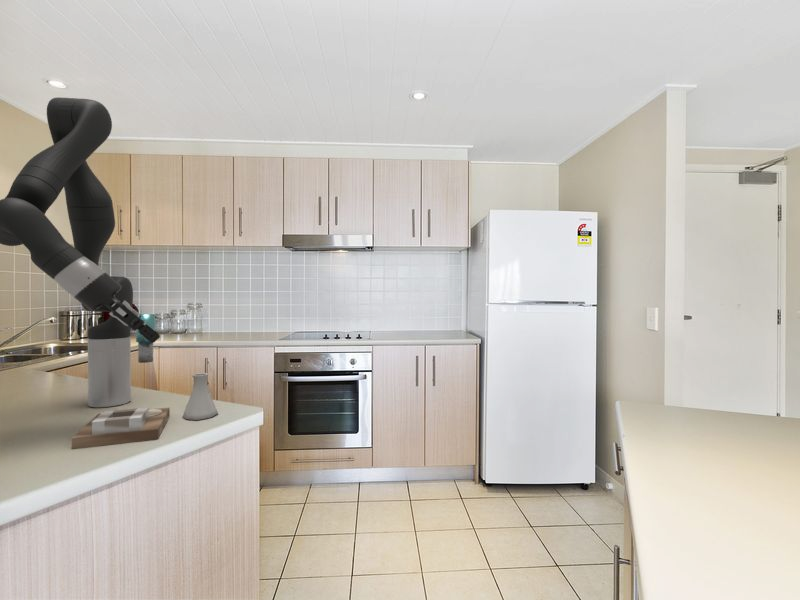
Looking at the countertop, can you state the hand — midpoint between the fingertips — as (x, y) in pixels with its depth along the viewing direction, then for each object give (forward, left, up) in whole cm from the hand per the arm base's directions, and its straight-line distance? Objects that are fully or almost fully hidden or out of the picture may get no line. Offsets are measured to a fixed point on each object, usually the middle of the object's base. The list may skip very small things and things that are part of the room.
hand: (156, 338), depth 94 cm
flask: (-1, +9, -19) cm, 21 cm away
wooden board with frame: (+4, -5, -19) cm, 20 cm away
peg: (0, -2, -5) cm, 5 cm away
